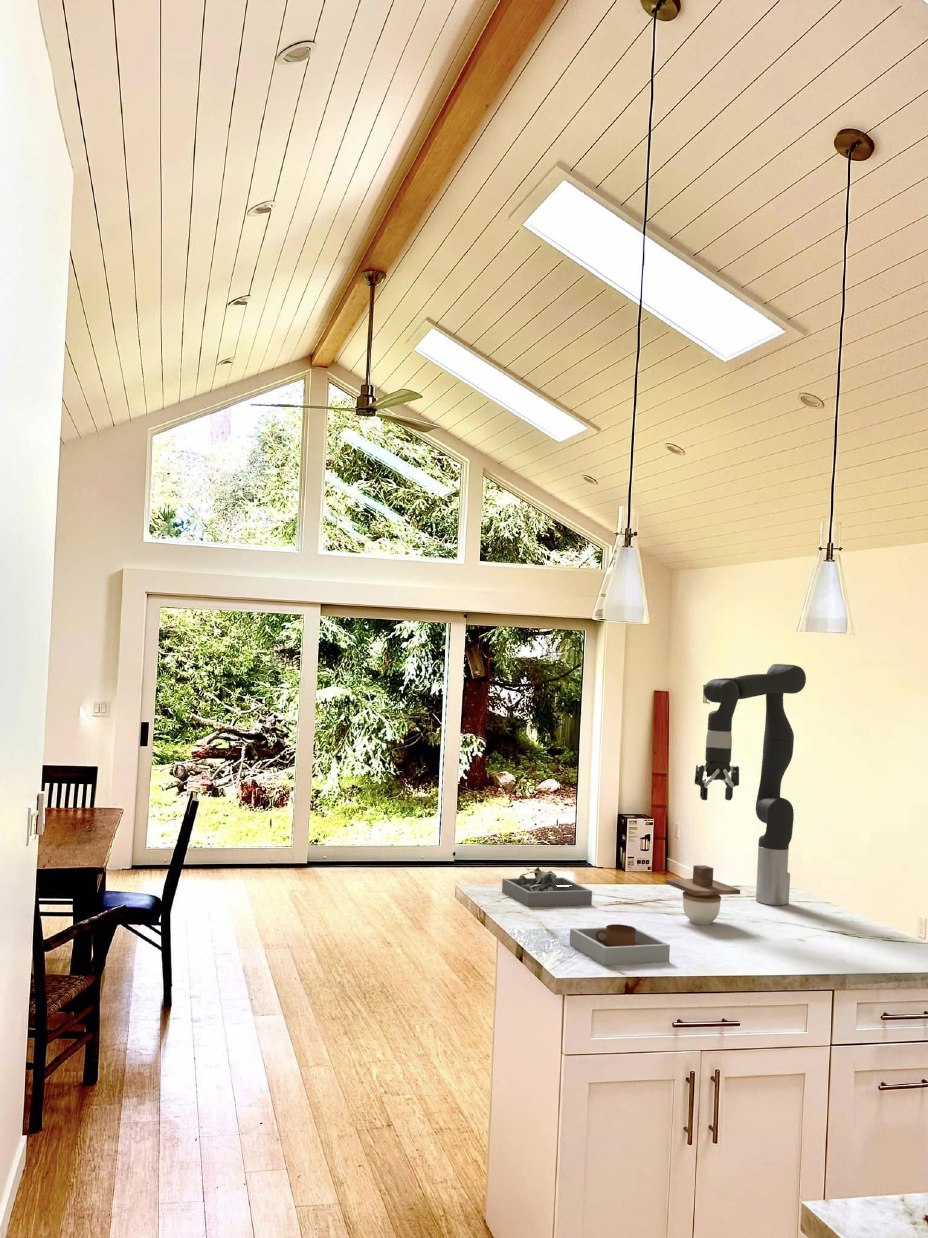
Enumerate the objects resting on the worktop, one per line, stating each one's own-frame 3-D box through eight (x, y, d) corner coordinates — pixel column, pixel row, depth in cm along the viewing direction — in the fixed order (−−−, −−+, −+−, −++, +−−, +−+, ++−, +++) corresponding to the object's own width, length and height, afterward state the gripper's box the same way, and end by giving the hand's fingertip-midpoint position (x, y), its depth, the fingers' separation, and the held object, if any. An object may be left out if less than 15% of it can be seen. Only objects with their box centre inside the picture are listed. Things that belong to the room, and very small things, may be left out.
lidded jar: (673, 920, 298) (675, 886, 298) (696, 915, 305) (698, 883, 305) (704, 928, 290) (706, 894, 290) (727, 924, 297) (729, 890, 297)
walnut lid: (709, 882, 307) (710, 861, 308) (740, 894, 293) (741, 872, 294) (665, 883, 302) (666, 862, 302) (695, 895, 288) (696, 873, 288)
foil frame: (562, 890, 329) (563, 877, 329) (591, 904, 311) (592, 891, 311) (501, 891, 321) (502, 878, 321) (527, 906, 303) (528, 892, 304)
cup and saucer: (604, 960, 253) (606, 934, 253) (589, 946, 265) (590, 921, 265) (651, 960, 255) (652, 934, 255) (633, 946, 267) (635, 922, 267)
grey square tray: (631, 941, 271) (632, 926, 271) (669, 961, 254) (669, 945, 254) (569, 944, 264) (570, 928, 264) (603, 965, 248) (604, 948, 248)
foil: (503, 883, 319) (540, 854, 325) (519, 912, 321) (555, 884, 327) (521, 889, 308) (559, 860, 314) (537, 920, 310) (575, 890, 316)
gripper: (731, 745, 320) (728, 798, 319) (691, 744, 314) (688, 798, 314) (746, 747, 313) (743, 802, 312) (705, 746, 307) (703, 801, 307)
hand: (716, 800), depth 313 cm, fingers open, 8 cm apart
